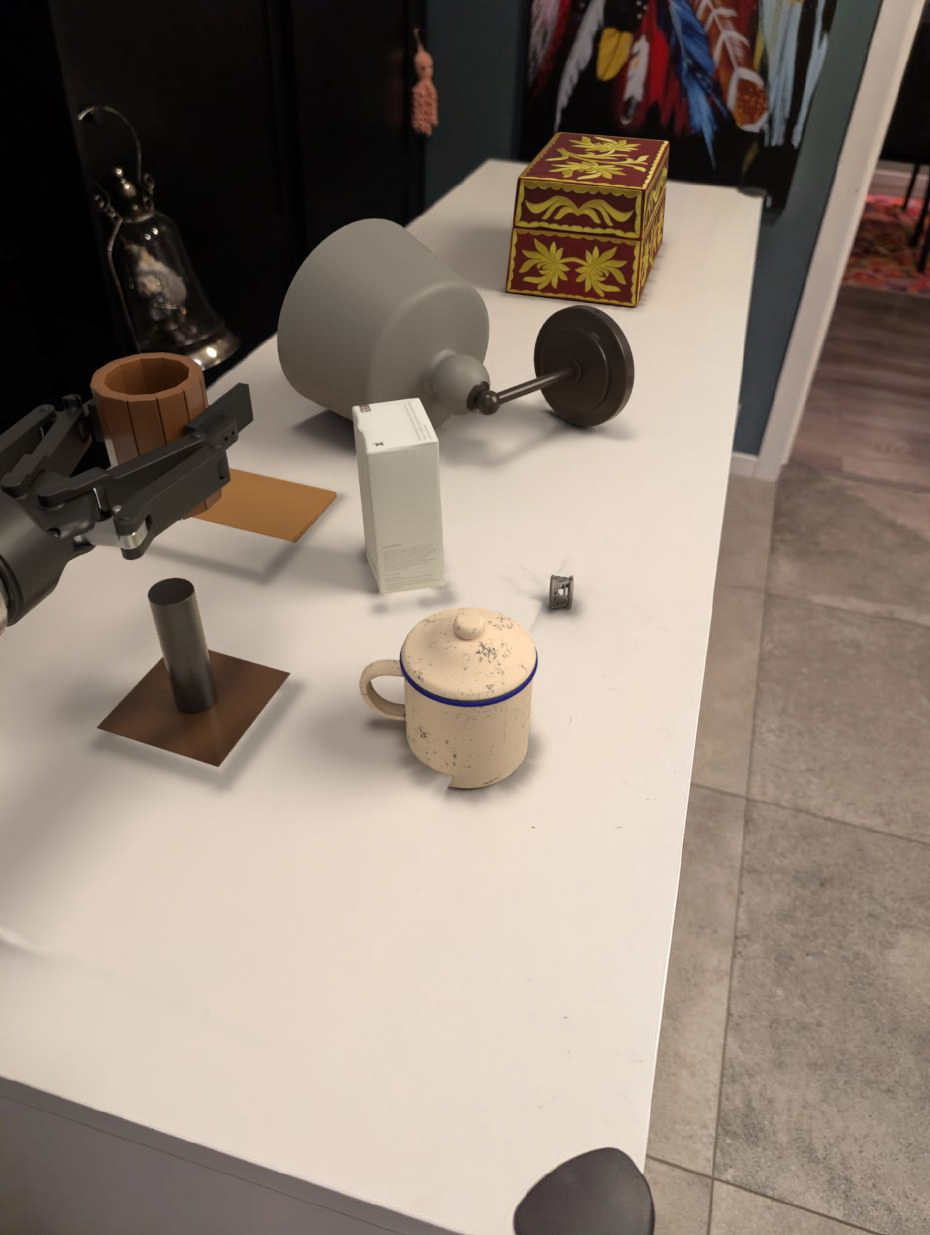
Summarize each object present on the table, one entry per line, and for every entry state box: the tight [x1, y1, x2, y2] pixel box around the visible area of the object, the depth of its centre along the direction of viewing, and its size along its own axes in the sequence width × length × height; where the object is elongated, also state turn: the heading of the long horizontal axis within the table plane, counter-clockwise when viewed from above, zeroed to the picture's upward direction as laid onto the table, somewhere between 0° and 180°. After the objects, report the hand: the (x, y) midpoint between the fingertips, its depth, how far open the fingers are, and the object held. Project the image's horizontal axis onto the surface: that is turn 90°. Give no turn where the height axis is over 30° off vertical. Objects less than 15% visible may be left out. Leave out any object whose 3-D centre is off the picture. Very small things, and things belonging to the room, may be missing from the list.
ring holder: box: [96, 577, 291, 768], centre depth 67 cm, size 10×10×12 cm
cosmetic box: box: [352, 398, 446, 595], centre depth 79 cm, size 8×6×15 cm
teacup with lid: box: [358, 606, 539, 789], centre depth 65 cm, size 12×9×12 cm
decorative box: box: [505, 131, 670, 308], centre depth 137 cm, size 28×19×15 cm
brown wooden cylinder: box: [89, 351, 222, 522], centre depth 64 cm, size 7×7×9 cm
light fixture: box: [276, 217, 636, 430], centre depth 98 cm, size 20×25×27 cm
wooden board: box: [191, 467, 337, 543], centre depth 90 cm, size 18×14×1 cm
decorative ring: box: [548, 574, 574, 610], centre depth 80 cm, size 3×2×3 cm
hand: (199, 392), depth 67 cm, fingers closed on brown wooden cylinder, 7 cm apart
